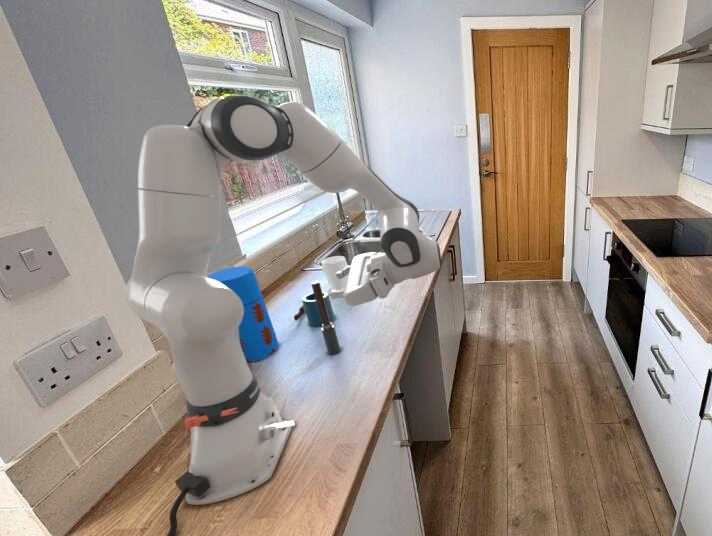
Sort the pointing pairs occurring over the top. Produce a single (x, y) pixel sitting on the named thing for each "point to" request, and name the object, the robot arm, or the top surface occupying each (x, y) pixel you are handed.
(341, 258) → the cup
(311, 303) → the teal hollow cylinder
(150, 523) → the top surface
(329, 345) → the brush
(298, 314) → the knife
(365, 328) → the top surface
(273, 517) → the top surface
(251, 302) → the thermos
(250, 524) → the top surface
